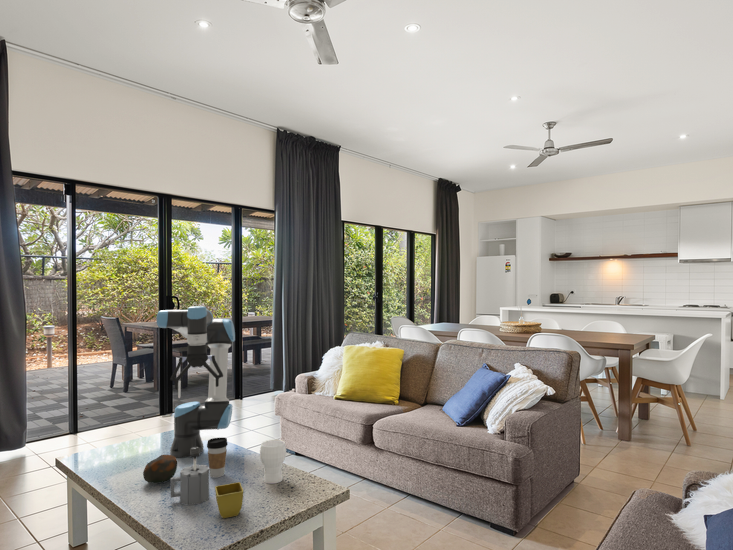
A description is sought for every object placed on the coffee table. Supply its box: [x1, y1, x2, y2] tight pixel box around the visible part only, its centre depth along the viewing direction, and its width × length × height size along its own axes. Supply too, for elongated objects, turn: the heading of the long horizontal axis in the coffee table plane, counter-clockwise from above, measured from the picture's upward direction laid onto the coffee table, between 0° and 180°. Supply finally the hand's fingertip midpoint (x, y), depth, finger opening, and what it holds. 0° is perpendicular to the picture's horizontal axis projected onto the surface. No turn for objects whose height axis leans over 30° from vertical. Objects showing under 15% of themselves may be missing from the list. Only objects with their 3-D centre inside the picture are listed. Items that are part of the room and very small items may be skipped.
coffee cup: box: [206, 437, 228, 479], centre depth 197 cm, size 8×8×15 cm
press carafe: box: [170, 464, 210, 506], centre depth 174 cm, size 10×14×11 cm
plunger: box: [189, 447, 201, 471], centre depth 175 cm, size 6×6×17 cm
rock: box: [142, 454, 178, 484], centre depth 191 cm, size 14×11×10 cm
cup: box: [259, 439, 287, 484], centre depth 192 cm, size 11×11×15 cm
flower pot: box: [214, 481, 245, 519], centre depth 162 cm, size 9×9×9 cm
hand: (197, 396), depth 190 cm, fingers open, 13 cm apart
